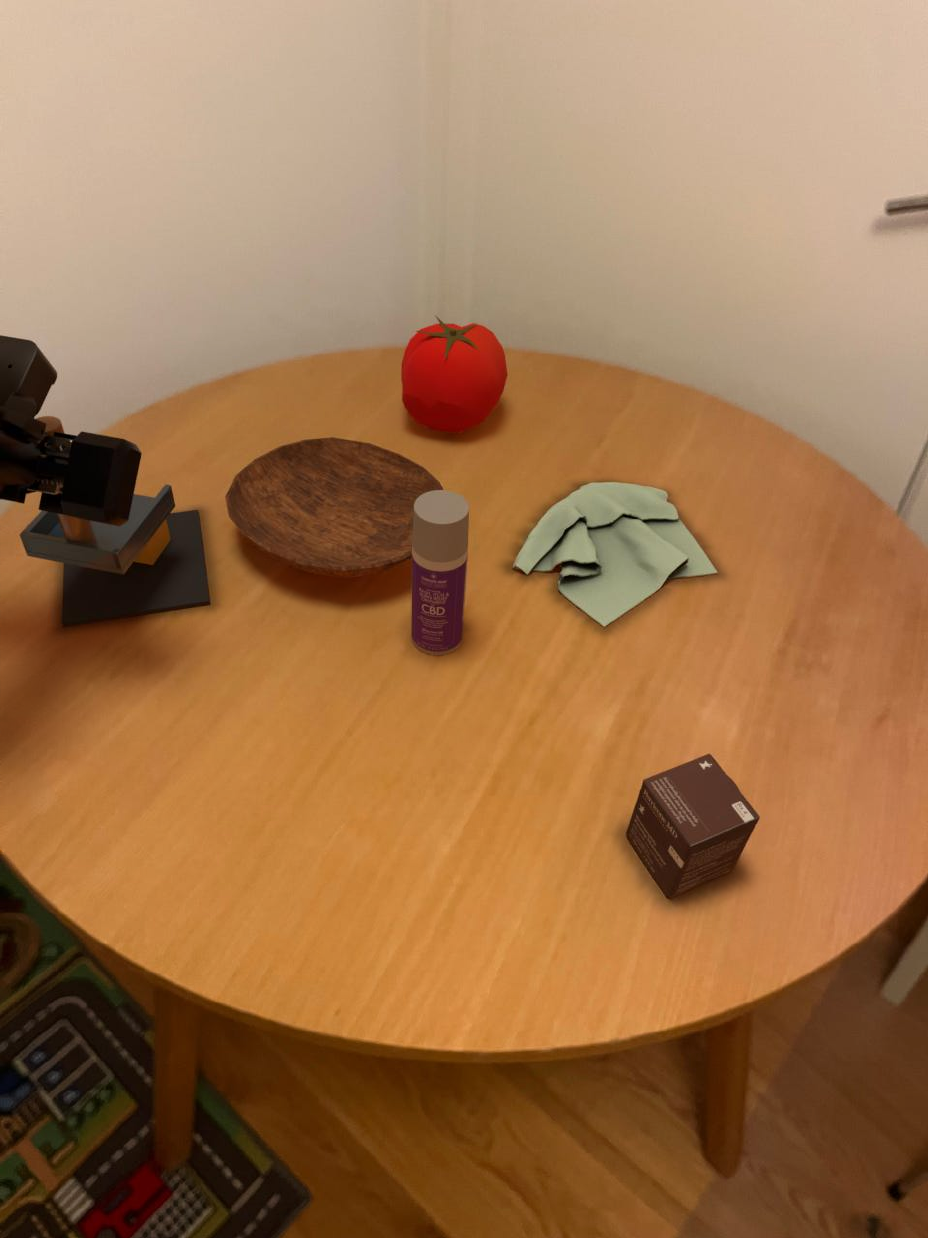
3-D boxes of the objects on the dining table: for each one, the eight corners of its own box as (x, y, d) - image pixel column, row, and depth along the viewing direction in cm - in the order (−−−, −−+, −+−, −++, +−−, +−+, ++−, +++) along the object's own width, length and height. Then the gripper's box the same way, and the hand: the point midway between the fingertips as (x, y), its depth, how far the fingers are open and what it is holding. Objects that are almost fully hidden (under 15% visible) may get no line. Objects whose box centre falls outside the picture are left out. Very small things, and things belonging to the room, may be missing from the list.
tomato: (376, 413, 110) (374, 322, 102) (462, 379, 116) (466, 291, 108) (440, 460, 104) (443, 368, 95) (527, 422, 110) (537, 332, 102)
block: (144, 533, 85) (163, 507, 88) (104, 525, 86) (125, 500, 89) (152, 565, 88) (171, 539, 91) (114, 558, 89) (133, 532, 92)
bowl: (320, 454, 103) (317, 416, 100) (483, 529, 95) (486, 490, 92) (191, 544, 92) (182, 504, 88) (364, 639, 83) (362, 599, 80)
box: (623, 834, 70) (640, 777, 65) (688, 807, 72) (710, 750, 67) (667, 901, 66) (690, 847, 61) (735, 871, 68) (762, 816, 63)
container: (417, 659, 82) (419, 528, 71) (406, 623, 85) (406, 492, 74) (468, 651, 83) (477, 520, 72) (455, 615, 86) (462, 485, 75)
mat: (62, 627, 83) (61, 623, 82) (66, 530, 92) (64, 527, 92) (210, 604, 86) (209, 600, 85) (198, 513, 95) (198, 509, 95)
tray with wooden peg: (123, 574, 78) (87, 445, 69) (27, 556, 79) (-22, 426, 70) (175, 506, 85) (148, 380, 76) (86, 489, 86) (49, 363, 77)
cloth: (670, 481, 103) (675, 463, 101) (739, 617, 87) (745, 599, 86) (490, 490, 100) (492, 472, 98) (529, 633, 85) (531, 614, 83)
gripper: (97, 342, 59) (198, 405, 75) (-157, 300, 62) (-9, 369, 77) (63, 511, 59) (171, 539, 75) (-190, 462, 62) (-35, 499, 77)
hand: (74, 482), depth 76 cm, fingers closed on tray with wooden peg, 2 cm apart
